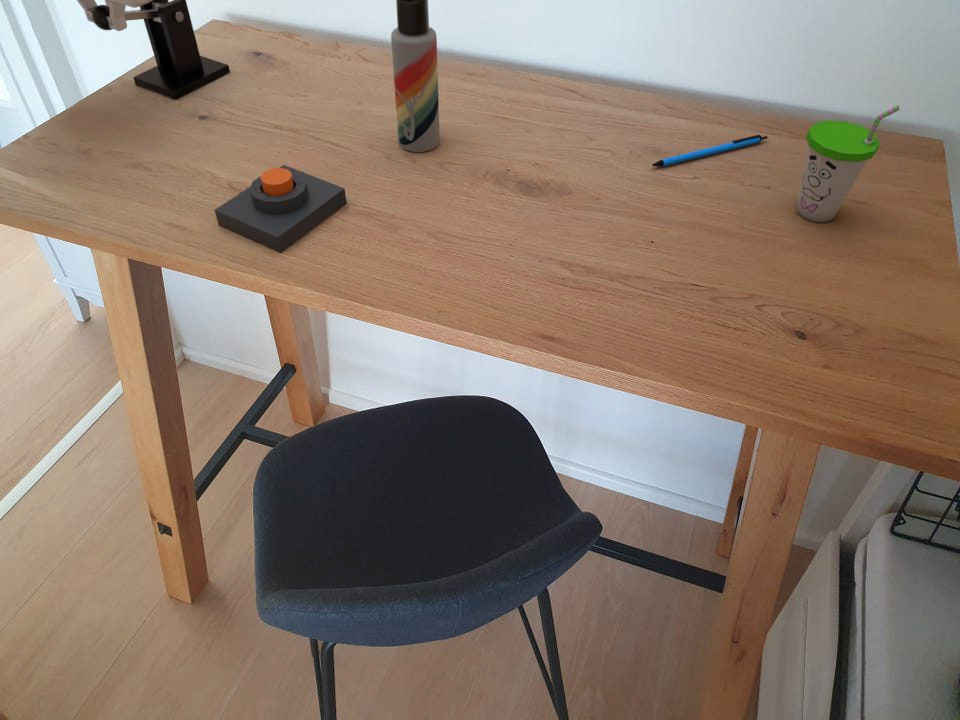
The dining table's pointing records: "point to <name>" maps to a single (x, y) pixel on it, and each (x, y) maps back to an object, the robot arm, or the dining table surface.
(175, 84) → the switch bracket
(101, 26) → the switch
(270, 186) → the button
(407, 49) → the lotion bottle
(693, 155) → the pen
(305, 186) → the control block
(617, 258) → the dining table surface
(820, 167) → the cup
